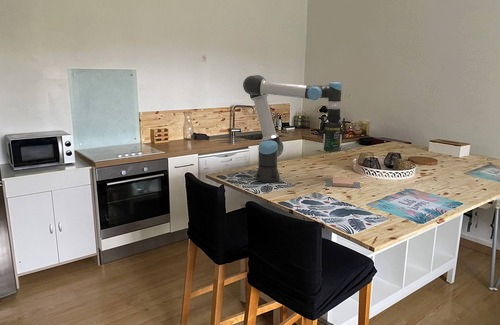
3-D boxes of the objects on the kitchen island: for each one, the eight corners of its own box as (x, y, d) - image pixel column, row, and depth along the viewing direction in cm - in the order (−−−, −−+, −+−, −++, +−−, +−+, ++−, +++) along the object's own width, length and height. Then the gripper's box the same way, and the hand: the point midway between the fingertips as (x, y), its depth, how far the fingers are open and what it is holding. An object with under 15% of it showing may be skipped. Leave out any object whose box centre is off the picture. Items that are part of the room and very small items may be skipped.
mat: (325, 185, 225) (325, 185, 225) (326, 180, 235) (326, 180, 235) (360, 188, 220) (360, 187, 220) (359, 183, 230) (359, 182, 230)
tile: (333, 179, 235) (332, 185, 224) (333, 177, 235) (332, 182, 224) (353, 181, 232) (353, 187, 221) (353, 178, 232) (353, 184, 221)
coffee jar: (330, 153, 230) (331, 122, 225) (321, 150, 236) (322, 121, 232) (342, 151, 234) (343, 121, 230) (333, 149, 241) (334, 120, 237)
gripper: (315, 108, 228) (313, 145, 233) (353, 109, 223) (350, 146, 228) (315, 107, 235) (314, 142, 240) (352, 108, 230) (350, 144, 235)
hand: (332, 144), depth 234 cm, fingers closed on coffee jar, 9 cm apart
